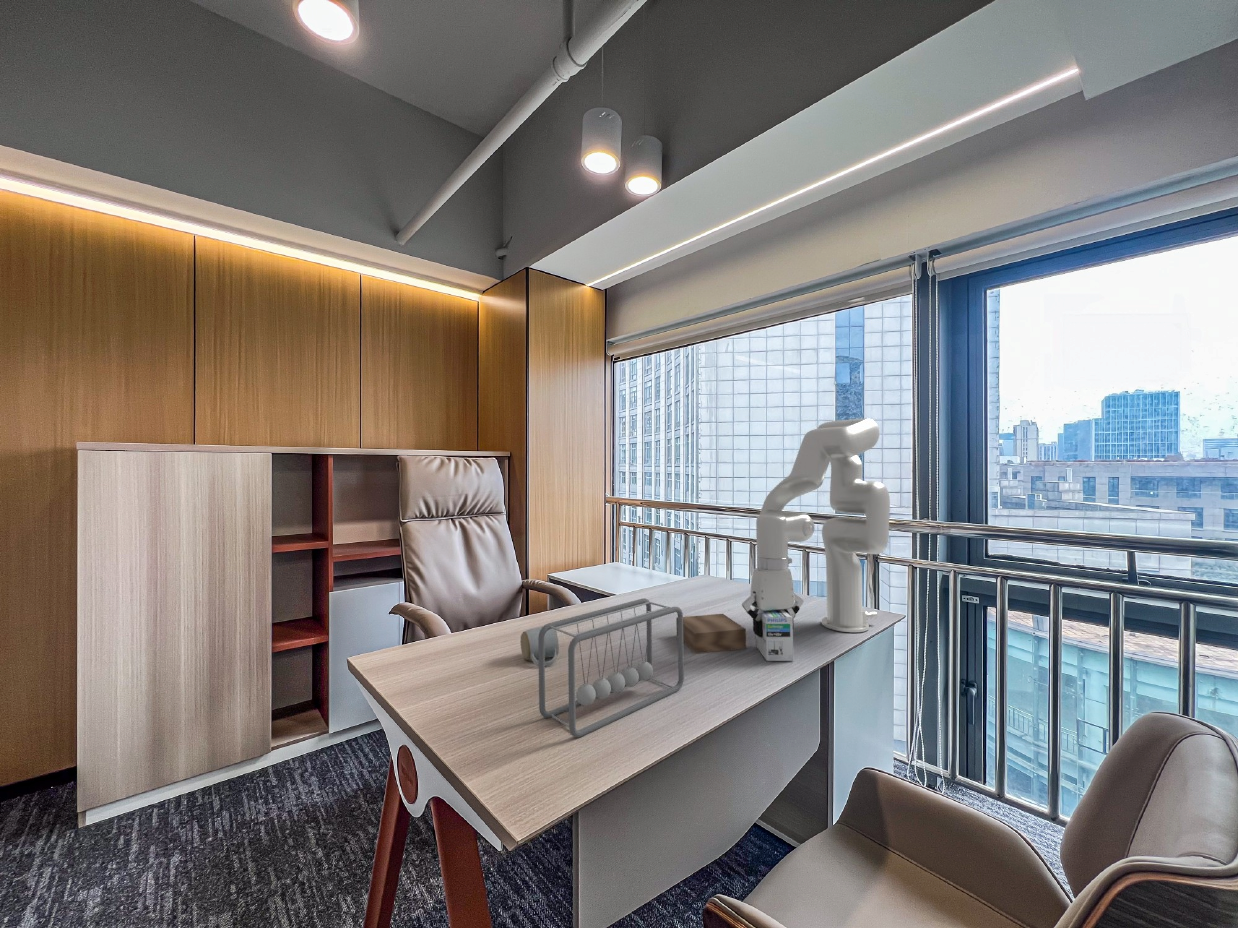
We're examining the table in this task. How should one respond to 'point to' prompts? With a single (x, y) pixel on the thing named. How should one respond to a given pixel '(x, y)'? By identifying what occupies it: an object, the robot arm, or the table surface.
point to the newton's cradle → (615, 680)
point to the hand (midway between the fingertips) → (773, 633)
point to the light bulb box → (776, 636)
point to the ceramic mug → (531, 645)
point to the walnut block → (712, 633)
